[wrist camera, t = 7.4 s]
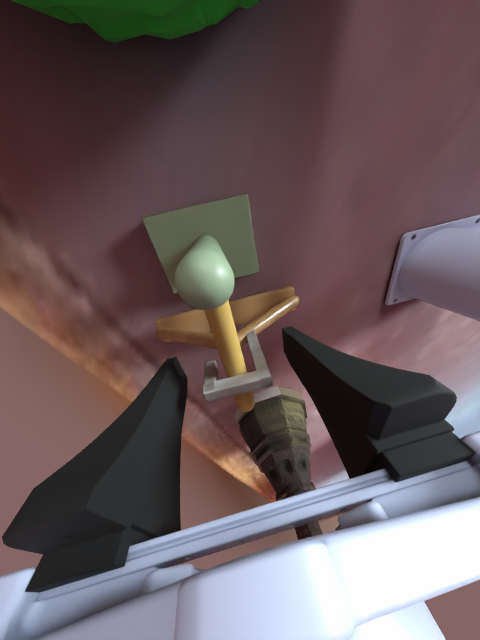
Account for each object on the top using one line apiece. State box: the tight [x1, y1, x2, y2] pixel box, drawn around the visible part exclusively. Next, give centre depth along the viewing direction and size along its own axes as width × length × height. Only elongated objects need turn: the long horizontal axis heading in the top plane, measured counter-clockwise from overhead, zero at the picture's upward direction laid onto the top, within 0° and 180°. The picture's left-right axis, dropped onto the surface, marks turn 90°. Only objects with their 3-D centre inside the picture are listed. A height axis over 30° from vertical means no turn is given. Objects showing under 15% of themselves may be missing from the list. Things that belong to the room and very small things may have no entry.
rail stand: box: [142, 194, 259, 412], centre depth 12 cm, size 8×13×12 cm, turn 12°
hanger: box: [155, 286, 299, 402], centre depth 13 cm, size 14×2×9 cm, turn 102°
